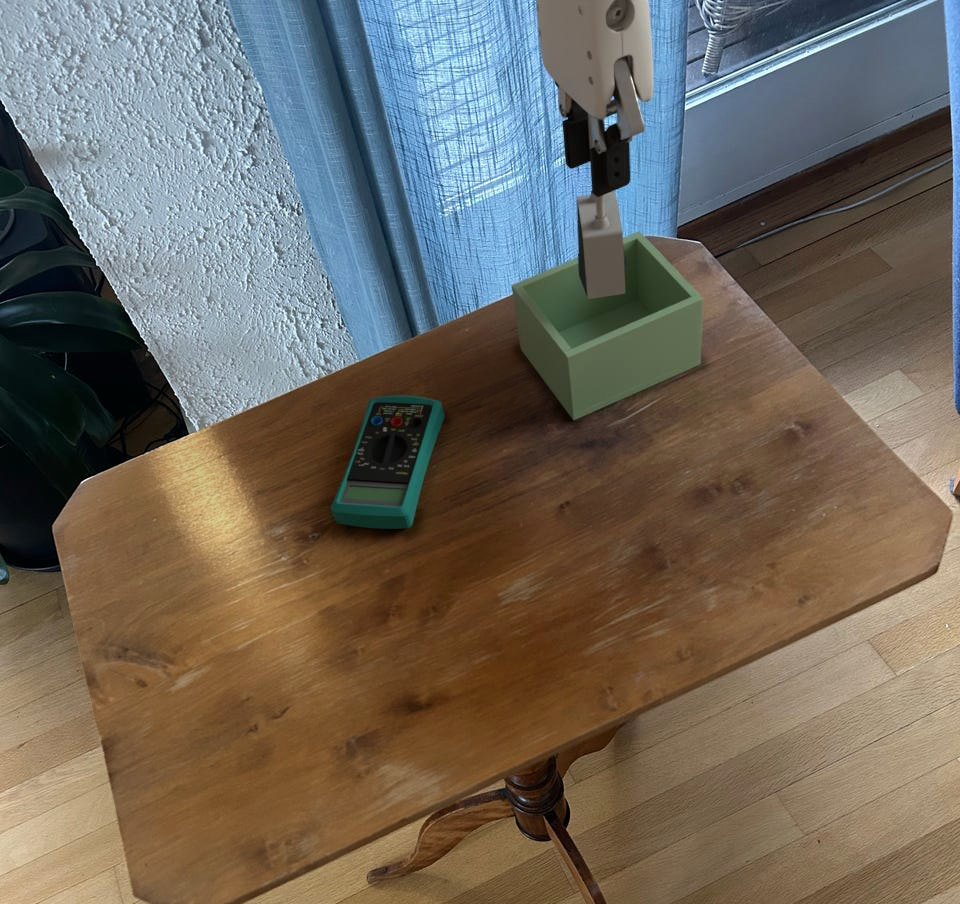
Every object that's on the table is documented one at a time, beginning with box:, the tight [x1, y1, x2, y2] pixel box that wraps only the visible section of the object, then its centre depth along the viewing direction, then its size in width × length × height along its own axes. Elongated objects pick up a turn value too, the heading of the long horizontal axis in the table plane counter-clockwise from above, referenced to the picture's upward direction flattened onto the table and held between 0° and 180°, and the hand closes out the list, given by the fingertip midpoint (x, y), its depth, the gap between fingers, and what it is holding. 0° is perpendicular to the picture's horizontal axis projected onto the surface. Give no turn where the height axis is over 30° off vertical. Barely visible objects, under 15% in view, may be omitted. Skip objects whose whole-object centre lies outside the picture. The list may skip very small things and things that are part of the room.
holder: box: [511, 231, 704, 421], centre depth 97 cm, size 12×14×8 cm
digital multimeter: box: [330, 394, 445, 530], centre depth 95 cm, size 7×15×3 cm, turn 168°
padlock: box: [576, 113, 626, 299], centre depth 86 cm, size 7×4×15 cm, turn 2°
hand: (597, 173), depth 84 cm, fingers closed on padlock, 3 cm apart
